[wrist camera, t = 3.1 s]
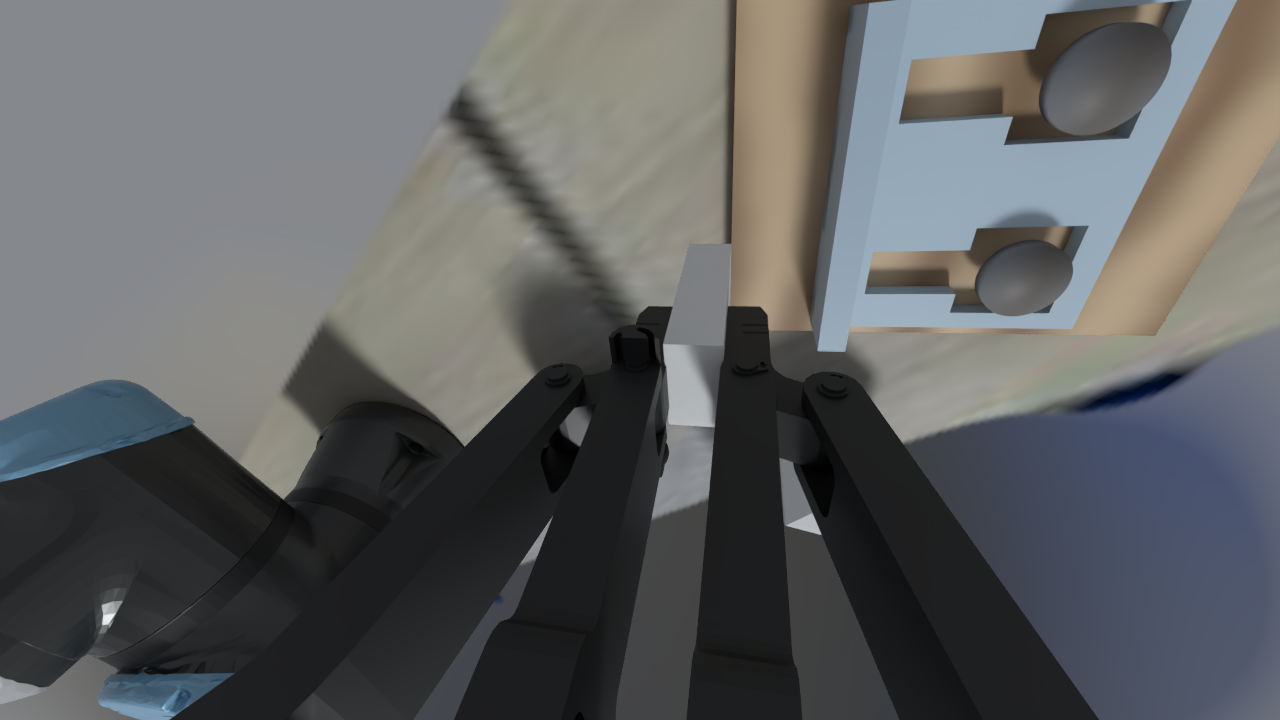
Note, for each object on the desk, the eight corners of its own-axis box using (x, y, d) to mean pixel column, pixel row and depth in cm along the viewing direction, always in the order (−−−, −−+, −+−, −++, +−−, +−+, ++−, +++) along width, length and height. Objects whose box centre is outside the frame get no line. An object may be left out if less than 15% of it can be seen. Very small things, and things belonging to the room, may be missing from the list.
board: (729, 320, 33) (728, 348, 30) (737, -8, 22) (736, -12, 20) (1140, 325, 28) (1185, 358, 25) (1384, -85, 18) (1503, -105, 15)
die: (835, 365, 34) (752, 456, 30) (948, 452, 31) (875, 566, 27) (791, 416, 41) (719, 495, 37) (880, 490, 39) (814, 585, 34)
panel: (809, 317, 30) (817, 351, 27) (850, 5, 21) (869, 3, 18) (1062, 320, 28) (1102, 357, 24) (1233, -37, 18) (1331, -48, 15)
